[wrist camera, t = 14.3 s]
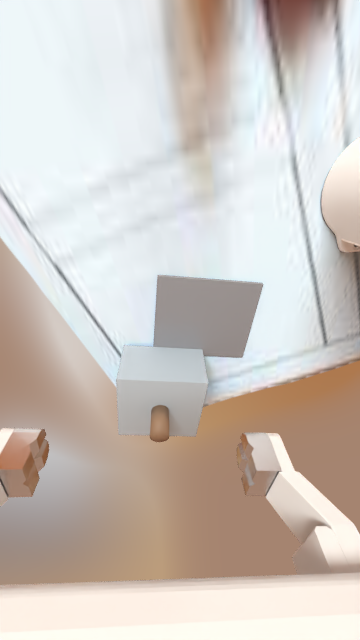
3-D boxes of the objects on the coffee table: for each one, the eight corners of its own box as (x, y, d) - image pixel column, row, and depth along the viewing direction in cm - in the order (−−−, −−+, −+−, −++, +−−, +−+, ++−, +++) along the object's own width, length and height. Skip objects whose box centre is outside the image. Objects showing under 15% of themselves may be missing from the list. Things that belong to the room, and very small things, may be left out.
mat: (262, 282, 45) (263, 284, 44) (241, 355, 53) (242, 357, 52) (157, 274, 43) (157, 276, 43) (153, 351, 51) (153, 353, 51)
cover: (202, 349, 51) (212, 407, 39) (192, 400, 59) (198, 461, 48) (123, 345, 49) (110, 404, 38) (124, 398, 58) (114, 460, 46)
